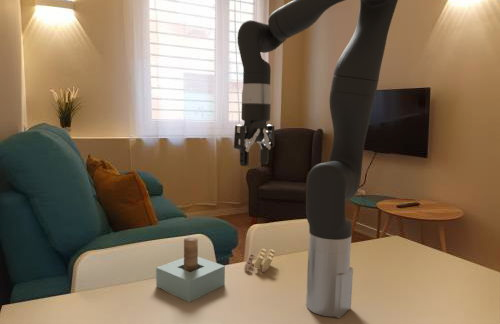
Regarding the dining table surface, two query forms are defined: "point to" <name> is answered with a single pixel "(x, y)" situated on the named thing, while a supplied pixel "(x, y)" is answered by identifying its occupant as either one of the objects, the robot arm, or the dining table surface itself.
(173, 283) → the socket block
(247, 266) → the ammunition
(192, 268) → the peg
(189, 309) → the dining table surface
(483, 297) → the dining table surface
